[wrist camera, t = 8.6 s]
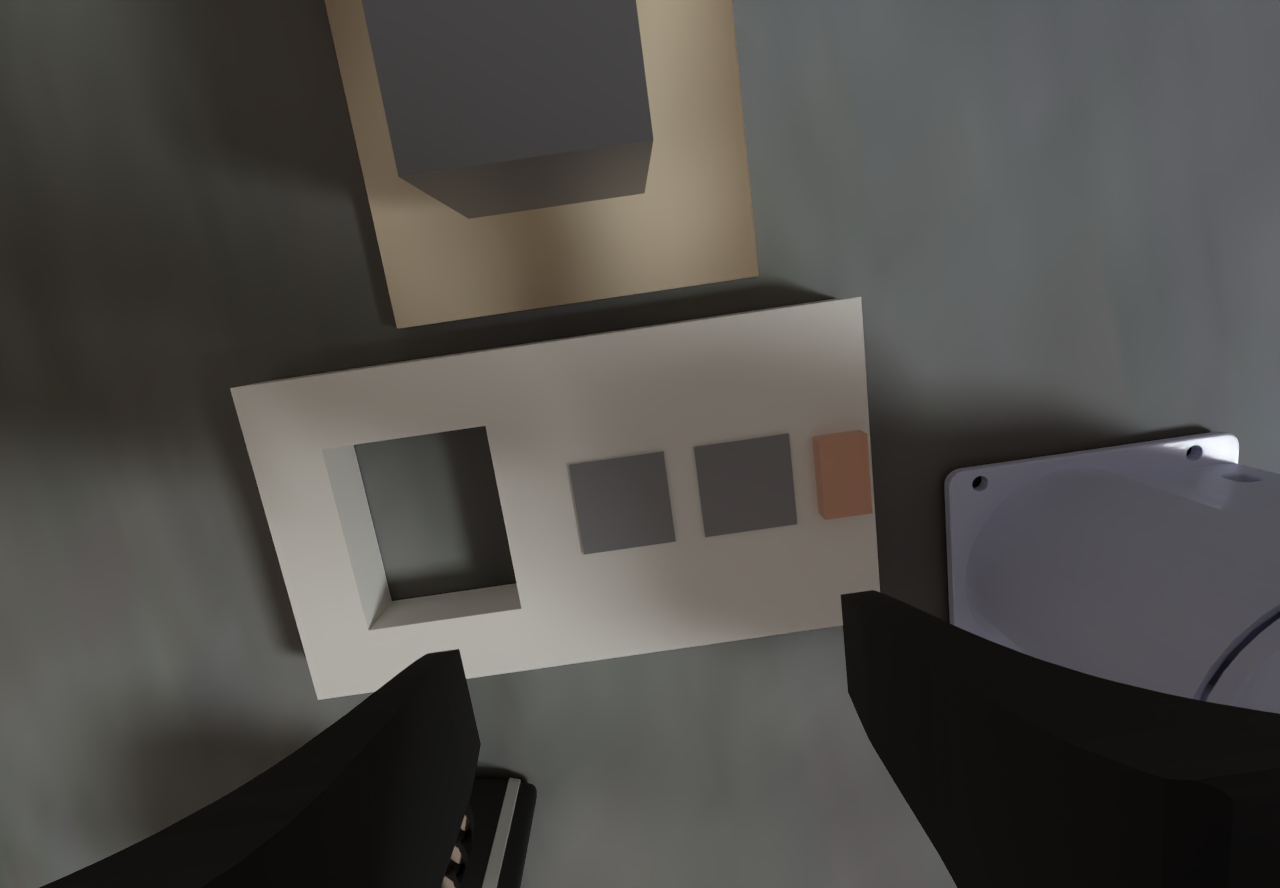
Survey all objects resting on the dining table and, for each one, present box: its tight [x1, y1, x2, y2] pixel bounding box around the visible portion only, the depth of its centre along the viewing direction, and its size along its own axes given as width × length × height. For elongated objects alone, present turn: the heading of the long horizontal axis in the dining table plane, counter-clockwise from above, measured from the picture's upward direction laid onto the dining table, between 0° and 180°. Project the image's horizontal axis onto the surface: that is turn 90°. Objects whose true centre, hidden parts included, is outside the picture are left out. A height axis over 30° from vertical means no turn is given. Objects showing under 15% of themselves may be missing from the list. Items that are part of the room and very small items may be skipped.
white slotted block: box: [230, 297, 880, 700], centre depth 19 cm, size 18×10×3 cm, turn 98°
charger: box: [362, 0, 654, 219], centre depth 14 cm, size 4×6×8 cm
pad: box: [324, 0, 759, 329], centre depth 18 cm, size 11×11×1 cm
